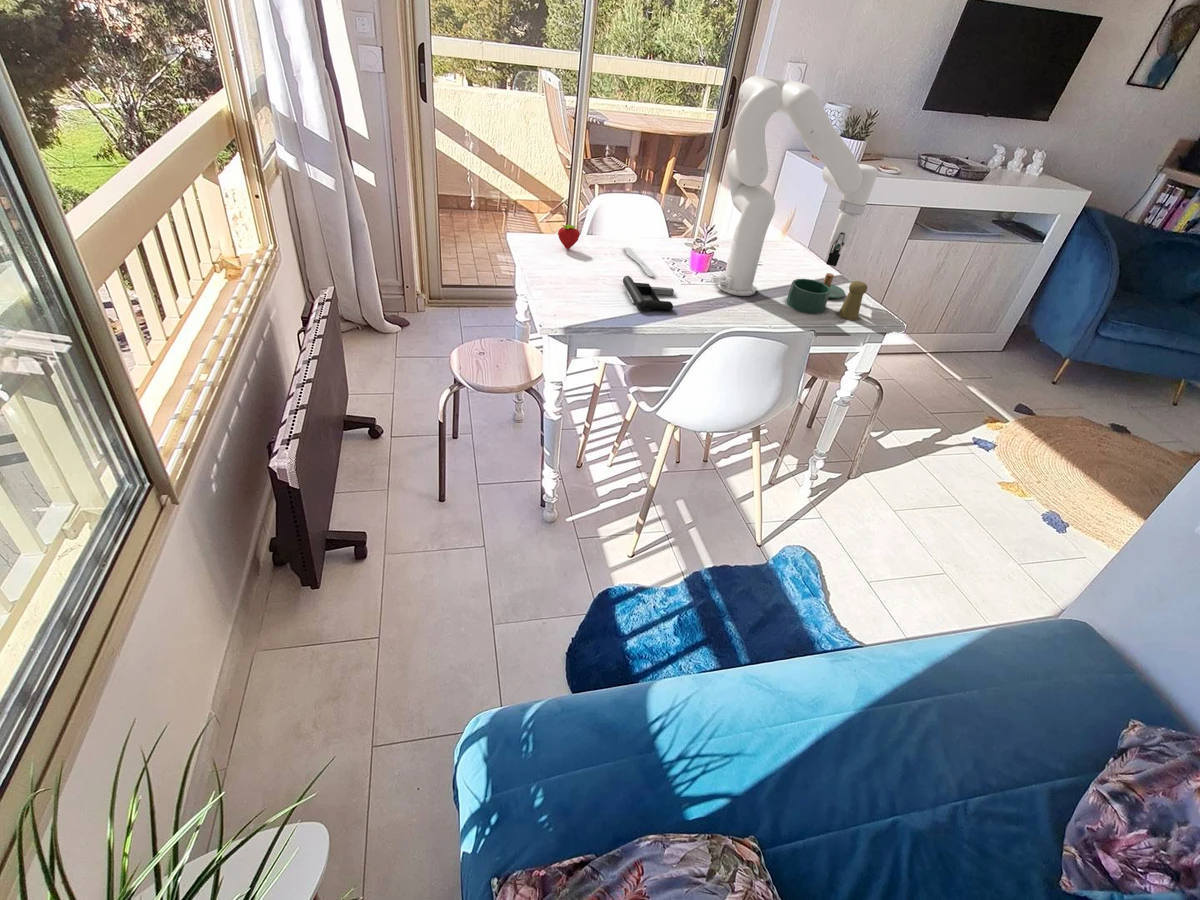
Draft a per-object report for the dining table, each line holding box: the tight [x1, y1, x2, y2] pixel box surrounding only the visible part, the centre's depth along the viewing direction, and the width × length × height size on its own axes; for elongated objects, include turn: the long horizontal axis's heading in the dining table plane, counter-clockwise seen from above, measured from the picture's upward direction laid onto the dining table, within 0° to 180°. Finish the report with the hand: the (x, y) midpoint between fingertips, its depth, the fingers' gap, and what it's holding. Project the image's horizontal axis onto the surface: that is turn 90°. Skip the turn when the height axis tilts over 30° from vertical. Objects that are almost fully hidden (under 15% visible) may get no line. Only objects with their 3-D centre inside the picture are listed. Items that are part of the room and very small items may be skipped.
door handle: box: [622, 275, 675, 312], centre depth 191 cm, size 3×20×16 cm
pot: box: [786, 278, 831, 314], centre depth 199 cm, size 12×12×6 cm
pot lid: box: [817, 272, 846, 299], centre depth 210 cm, size 13×13×6 cm
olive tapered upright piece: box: [837, 280, 868, 321], centre depth 195 cm, size 6×6×11 cm
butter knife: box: [624, 247, 655, 278], centre depth 216 cm, size 1×27×3 cm
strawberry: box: [557, 221, 581, 250], centre depth 216 cm, size 6×8×10 cm
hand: (832, 261), depth 206 cm, fingers open, 9 cm apart
